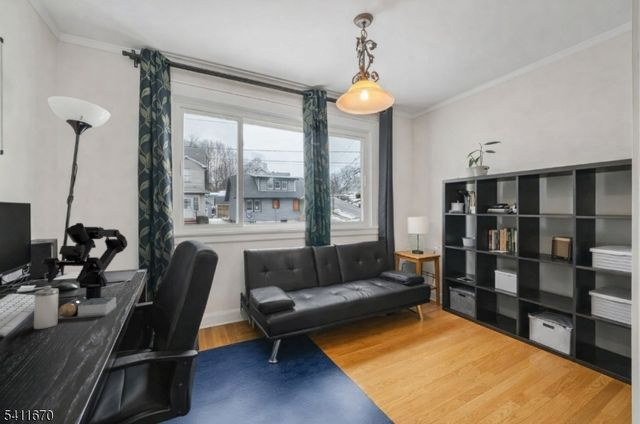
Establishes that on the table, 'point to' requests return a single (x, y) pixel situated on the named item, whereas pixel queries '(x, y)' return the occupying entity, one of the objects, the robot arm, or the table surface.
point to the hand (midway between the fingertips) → (63, 281)
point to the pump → (46, 307)
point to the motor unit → (87, 307)
